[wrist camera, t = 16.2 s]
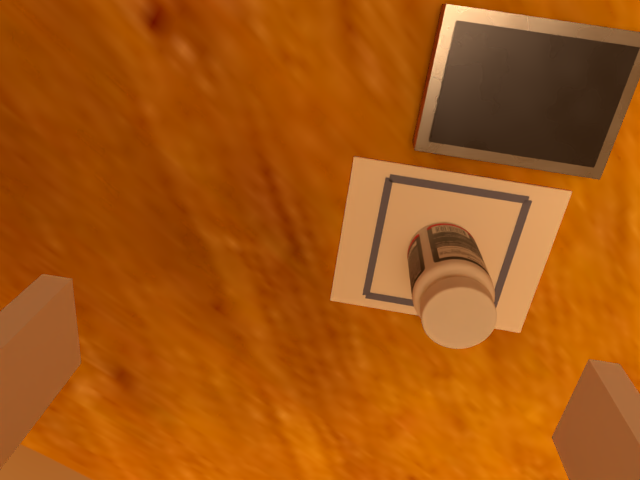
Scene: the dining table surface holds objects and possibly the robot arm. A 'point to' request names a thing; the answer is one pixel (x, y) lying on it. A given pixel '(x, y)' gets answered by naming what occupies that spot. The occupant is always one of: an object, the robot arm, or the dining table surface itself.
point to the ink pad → (526, 90)
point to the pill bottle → (451, 286)
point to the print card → (436, 207)
